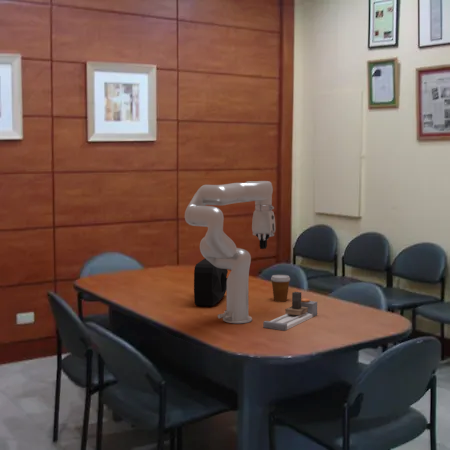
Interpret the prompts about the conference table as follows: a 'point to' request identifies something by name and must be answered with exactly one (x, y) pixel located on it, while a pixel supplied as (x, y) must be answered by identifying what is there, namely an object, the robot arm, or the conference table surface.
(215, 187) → the robot arm
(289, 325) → the rail track
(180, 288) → the conference table surface
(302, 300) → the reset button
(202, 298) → the black hard case
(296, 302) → the carriage
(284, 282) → the disposable coffee cup
